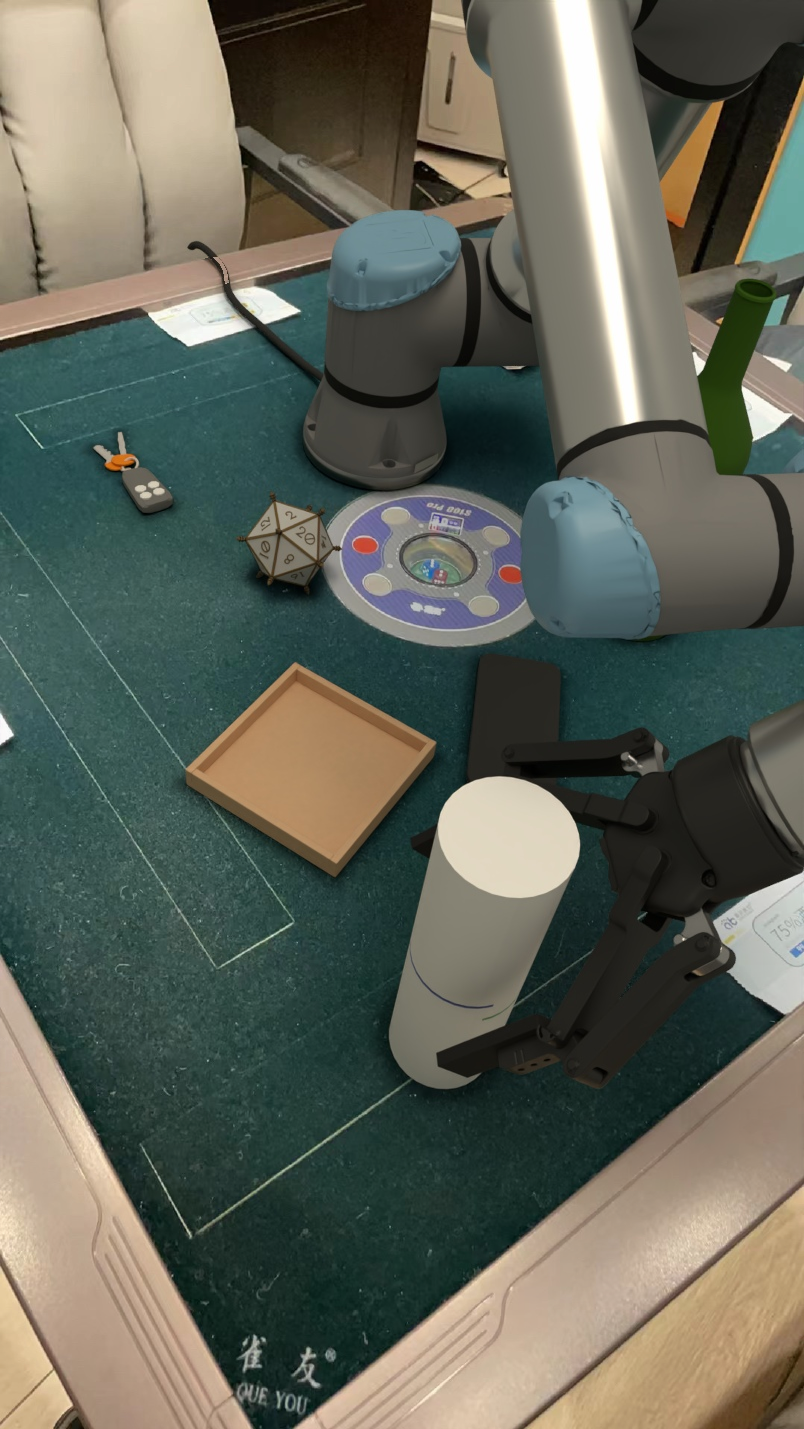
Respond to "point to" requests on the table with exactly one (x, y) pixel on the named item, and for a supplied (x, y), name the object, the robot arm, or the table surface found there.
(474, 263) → the robot arm
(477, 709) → the phone
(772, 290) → the wine bottle
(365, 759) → the tray
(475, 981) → the cylindrical container
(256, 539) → the game die
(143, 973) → the table surface
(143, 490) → the key chain
